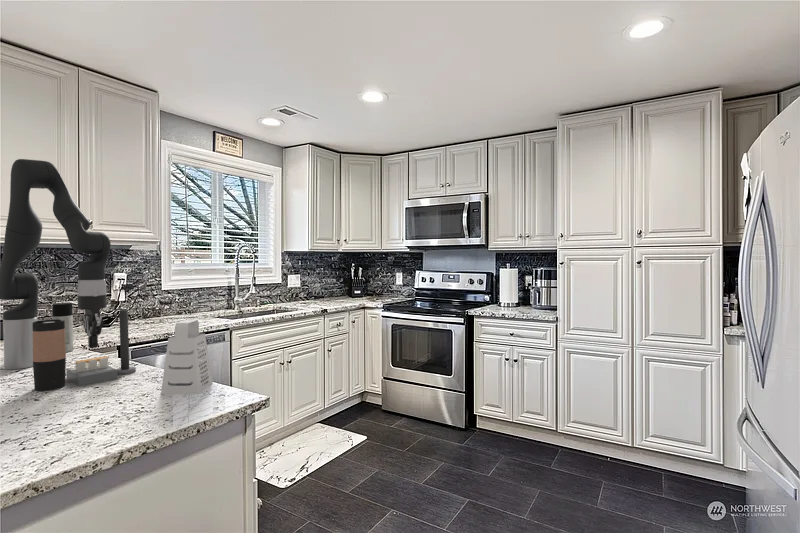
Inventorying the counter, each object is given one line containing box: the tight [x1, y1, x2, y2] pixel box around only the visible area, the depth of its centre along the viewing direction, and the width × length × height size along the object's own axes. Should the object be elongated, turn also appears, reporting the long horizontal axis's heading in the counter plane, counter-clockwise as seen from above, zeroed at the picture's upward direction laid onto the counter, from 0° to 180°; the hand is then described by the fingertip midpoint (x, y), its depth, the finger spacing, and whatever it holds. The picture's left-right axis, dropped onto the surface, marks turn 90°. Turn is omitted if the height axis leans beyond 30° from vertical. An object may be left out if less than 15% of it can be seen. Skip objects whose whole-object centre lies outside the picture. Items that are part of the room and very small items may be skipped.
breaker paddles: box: [75, 356, 109, 372], centre depth 137 cm, size 1×8×3 cm, turn 141°
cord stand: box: [115, 309, 136, 376], centre depth 145 cm, size 6×6×21 cm
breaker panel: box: [66, 363, 118, 387], centre depth 138 cm, size 14×10×3 cm
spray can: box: [51, 302, 74, 353], centre depth 177 cm, size 7×7×20 cm
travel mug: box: [32, 319, 67, 392], centre depth 128 cm, size 8×8×20 cm
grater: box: [160, 319, 214, 395], centre depth 128 cm, size 10×10×20 cm
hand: (93, 347), depth 138 cm, fingers closed
